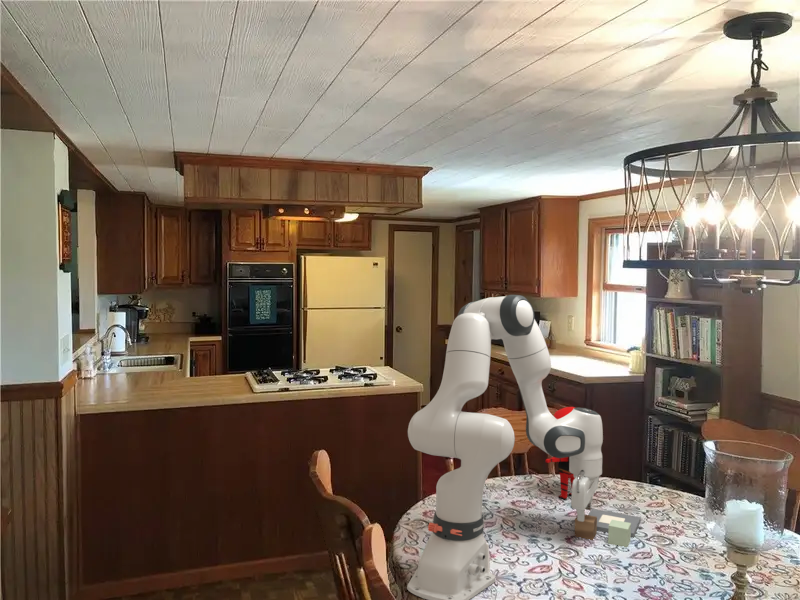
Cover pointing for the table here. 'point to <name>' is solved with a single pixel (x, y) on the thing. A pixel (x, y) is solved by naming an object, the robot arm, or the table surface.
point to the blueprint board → (606, 517)
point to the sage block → (619, 533)
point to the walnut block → (586, 527)
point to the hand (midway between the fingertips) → (584, 514)
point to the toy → (563, 461)
